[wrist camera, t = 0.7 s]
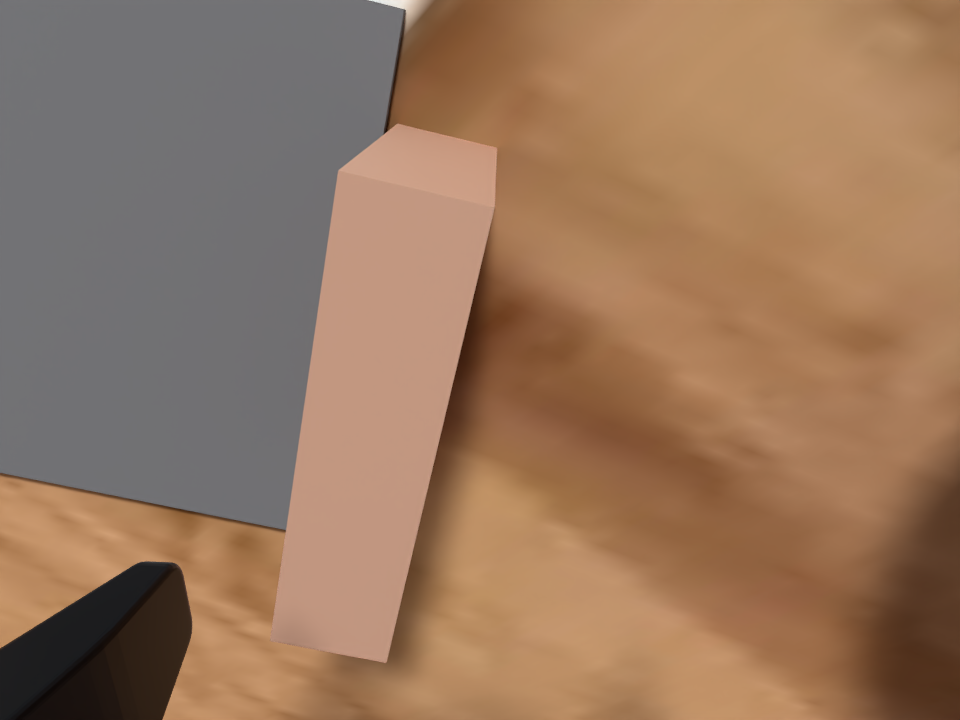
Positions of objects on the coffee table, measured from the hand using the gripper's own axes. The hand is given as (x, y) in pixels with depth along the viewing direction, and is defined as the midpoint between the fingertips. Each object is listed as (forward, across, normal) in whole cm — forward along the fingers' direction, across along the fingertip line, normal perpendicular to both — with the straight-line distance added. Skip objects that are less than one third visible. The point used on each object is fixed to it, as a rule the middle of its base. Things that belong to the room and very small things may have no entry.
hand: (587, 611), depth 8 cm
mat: (+12, +11, 0) cm, 16 cm away
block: (+12, +4, +1) cm, 13 cm away
